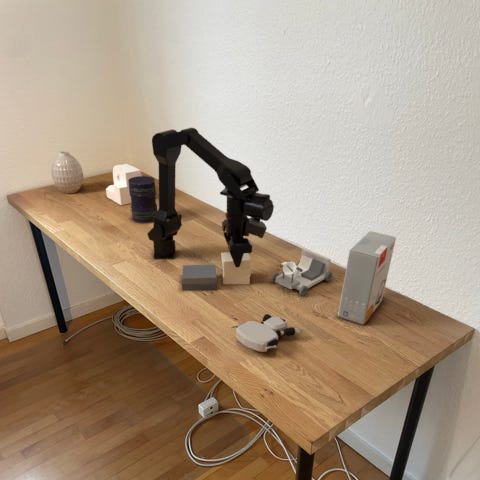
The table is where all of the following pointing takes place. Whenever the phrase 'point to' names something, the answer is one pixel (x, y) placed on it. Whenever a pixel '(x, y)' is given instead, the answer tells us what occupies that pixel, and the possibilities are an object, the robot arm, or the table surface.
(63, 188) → the vase
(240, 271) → the beige block
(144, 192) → the storage jar
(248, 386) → the table surface
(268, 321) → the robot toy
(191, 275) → the grey books
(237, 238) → the robot arm
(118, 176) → the tape dispenser
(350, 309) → the hard drive box
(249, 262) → the cream rectangular block
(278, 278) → the toy car
